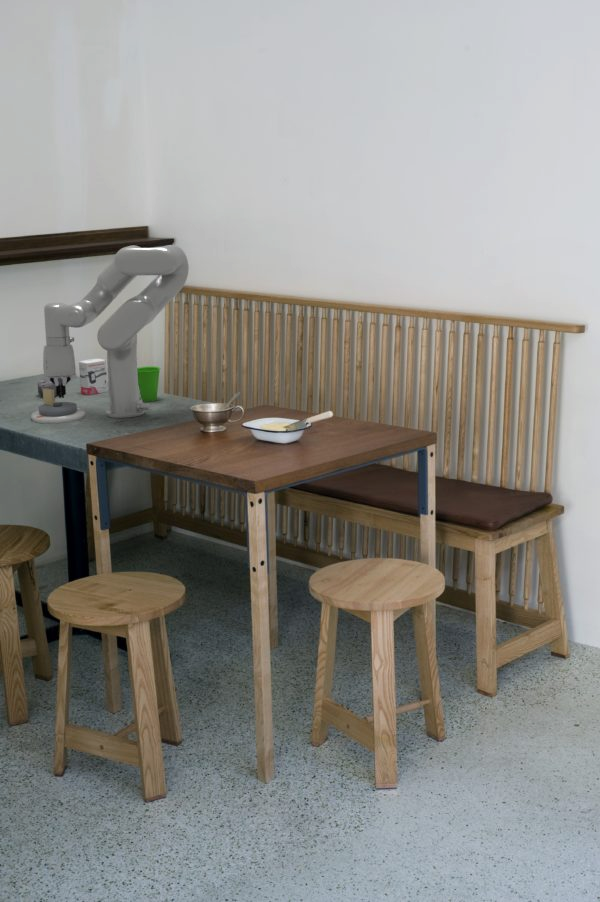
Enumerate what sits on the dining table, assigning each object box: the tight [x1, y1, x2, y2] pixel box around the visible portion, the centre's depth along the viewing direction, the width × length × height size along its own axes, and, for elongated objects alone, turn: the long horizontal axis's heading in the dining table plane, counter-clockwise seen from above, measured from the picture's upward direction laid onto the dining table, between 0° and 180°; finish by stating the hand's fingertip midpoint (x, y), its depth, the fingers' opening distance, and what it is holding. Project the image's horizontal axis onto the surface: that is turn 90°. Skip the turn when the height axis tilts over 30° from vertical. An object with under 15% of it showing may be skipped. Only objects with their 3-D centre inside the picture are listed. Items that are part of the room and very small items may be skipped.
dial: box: [38, 388, 78, 416], centre depth 356 cm, size 12×12×7 cm
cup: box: [137, 365, 161, 403], centre depth 379 cm, size 9×9×11 cm
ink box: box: [78, 357, 109, 396], centre depth 394 cm, size 8×5×12 cm, turn 134°
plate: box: [30, 407, 86, 424], centre depth 357 cm, size 17×17×2 cm
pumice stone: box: [37, 377, 63, 398], centre depth 391 cm, size 10×8×10 cm
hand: (61, 397), depth 360 cm, fingers closed
